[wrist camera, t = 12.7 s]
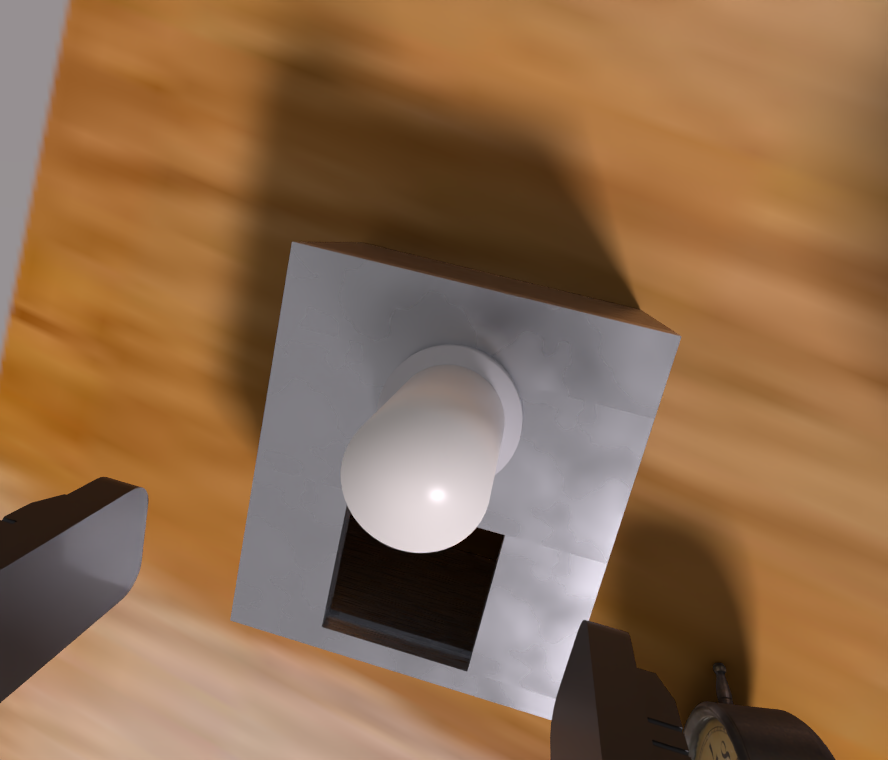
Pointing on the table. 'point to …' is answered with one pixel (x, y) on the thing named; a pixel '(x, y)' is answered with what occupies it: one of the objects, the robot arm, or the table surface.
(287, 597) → the keyhole stand
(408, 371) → the peg
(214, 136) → the table surface
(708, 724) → the alarm clock
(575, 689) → the robot arm
